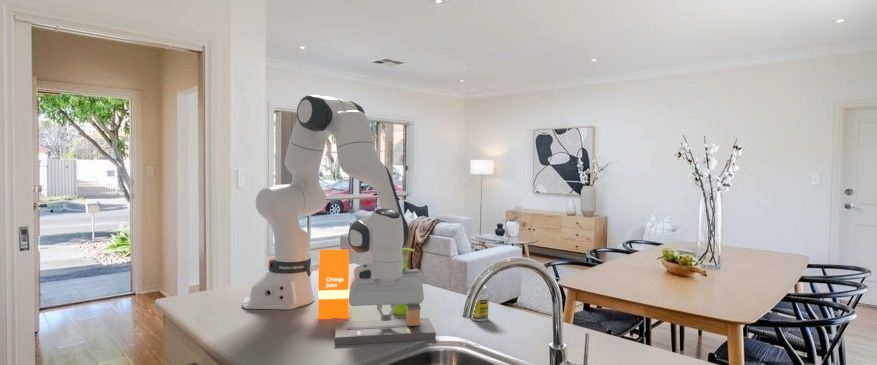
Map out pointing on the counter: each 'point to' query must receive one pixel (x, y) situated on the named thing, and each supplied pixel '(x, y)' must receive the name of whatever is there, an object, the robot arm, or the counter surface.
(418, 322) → the fader tab
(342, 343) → the board
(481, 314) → the supplement bottle
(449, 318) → the counter surface
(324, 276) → the orange juice
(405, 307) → the soap dispenser
